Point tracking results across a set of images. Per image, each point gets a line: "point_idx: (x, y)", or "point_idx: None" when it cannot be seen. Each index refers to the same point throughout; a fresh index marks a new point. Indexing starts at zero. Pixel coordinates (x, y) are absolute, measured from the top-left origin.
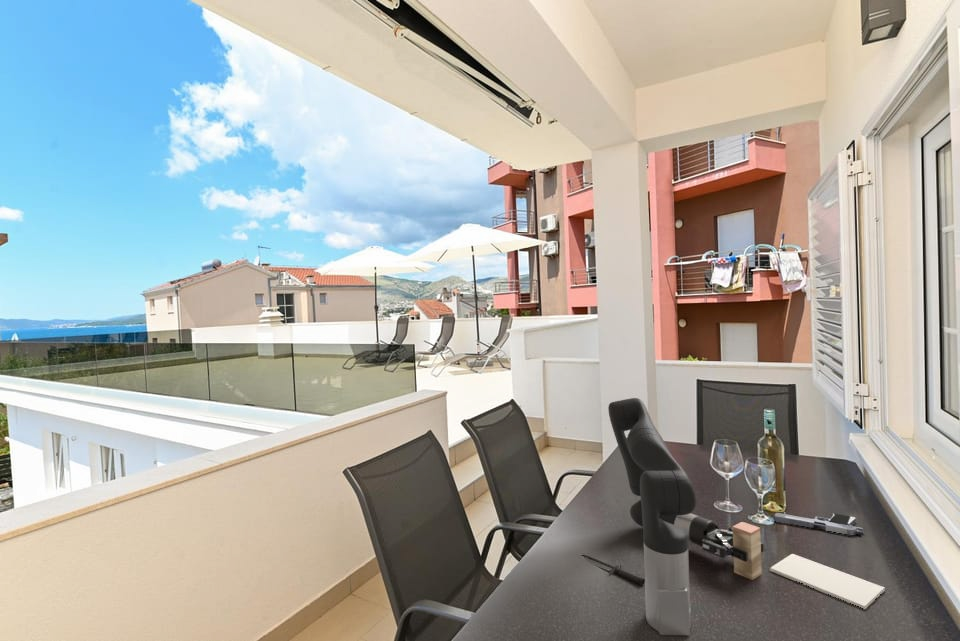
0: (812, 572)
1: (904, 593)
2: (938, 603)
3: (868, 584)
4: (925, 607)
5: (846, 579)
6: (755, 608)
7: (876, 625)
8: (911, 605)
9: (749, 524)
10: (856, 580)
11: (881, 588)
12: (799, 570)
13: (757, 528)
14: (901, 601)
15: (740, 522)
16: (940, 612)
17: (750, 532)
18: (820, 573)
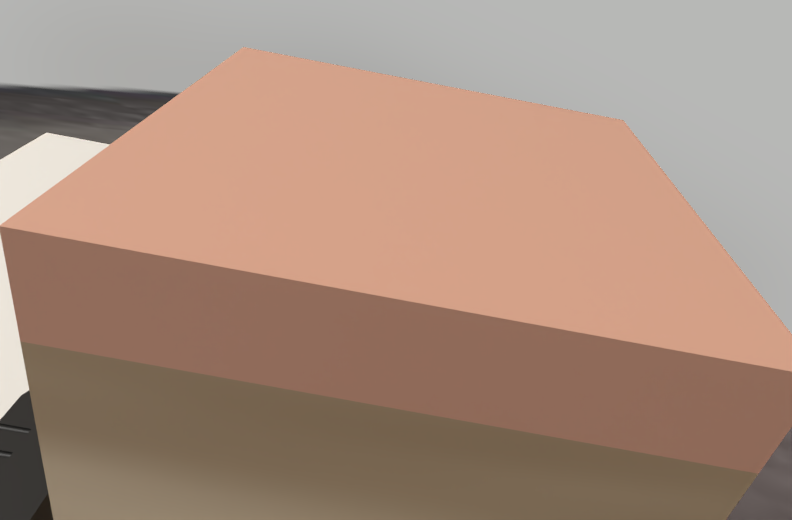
0: (11, 299)
1: (36, 121)
2: (70, 89)
3: (44, 158)
4: (127, 107)
5: (32, 199)
6: (772, 494)
7: None
8: (137, 122)
9: (172, 119)
10: (19, 178)
11: (64, 138)
12: (15, 354)
13: (315, 66)
14: (121, 132)
15: (152, 253)
16: (139, 95)
17: (615, 120)
18: (6, 271)
